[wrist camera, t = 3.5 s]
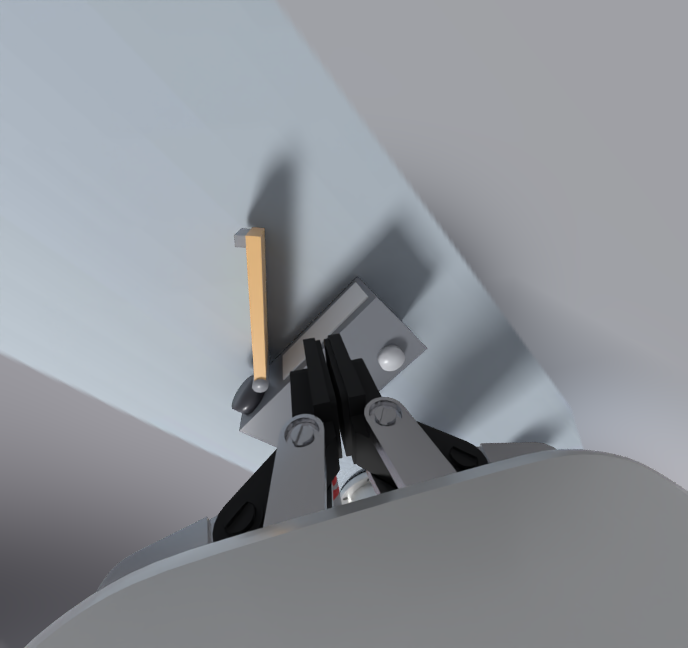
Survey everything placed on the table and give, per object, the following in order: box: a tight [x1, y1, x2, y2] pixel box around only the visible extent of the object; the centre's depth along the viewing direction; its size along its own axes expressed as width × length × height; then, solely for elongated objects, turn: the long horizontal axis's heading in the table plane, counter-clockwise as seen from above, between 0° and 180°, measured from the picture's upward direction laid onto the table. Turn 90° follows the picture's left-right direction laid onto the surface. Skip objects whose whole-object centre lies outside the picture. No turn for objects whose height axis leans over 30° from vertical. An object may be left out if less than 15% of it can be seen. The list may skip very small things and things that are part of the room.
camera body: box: [232, 277, 427, 447], centre depth 26 cm, size 18×9×7 cm, turn 132°
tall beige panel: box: [234, 227, 270, 393], centre depth 23 cm, size 14×2×5 cm, turn 172°
